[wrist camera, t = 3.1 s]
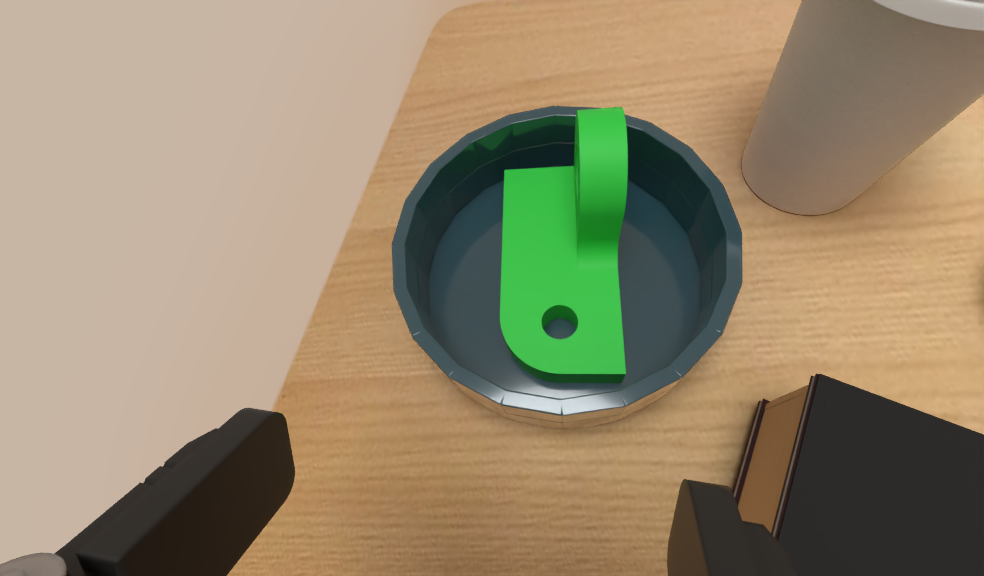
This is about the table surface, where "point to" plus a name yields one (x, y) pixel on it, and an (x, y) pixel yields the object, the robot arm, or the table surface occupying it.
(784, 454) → the miniature tv stand
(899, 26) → the coffee cup
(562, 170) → the mechanical part
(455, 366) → the pot
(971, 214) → the table surface
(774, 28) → the table surface
